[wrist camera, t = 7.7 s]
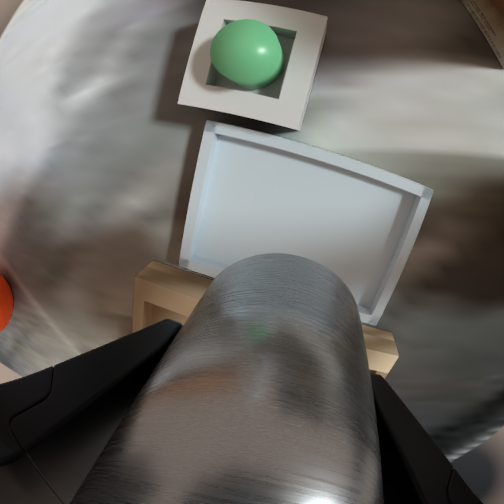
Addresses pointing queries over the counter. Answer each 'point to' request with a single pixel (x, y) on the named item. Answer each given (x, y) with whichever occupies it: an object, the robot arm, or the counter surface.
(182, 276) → the shallow beige tray
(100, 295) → the counter surface
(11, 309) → the tomato
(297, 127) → the white square frame
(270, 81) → the button
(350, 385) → the cylinder
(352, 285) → the grey flat rimmed tray
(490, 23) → the coffee box
